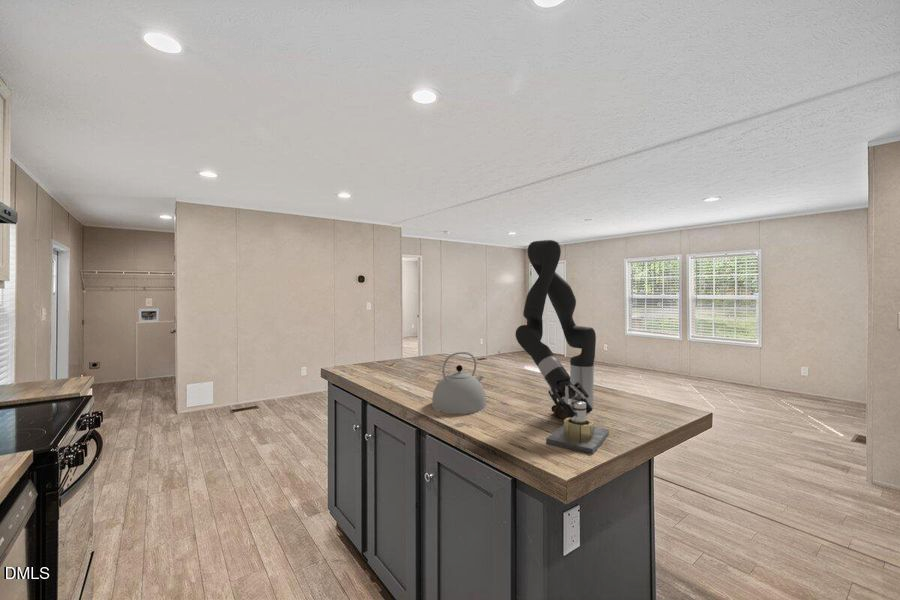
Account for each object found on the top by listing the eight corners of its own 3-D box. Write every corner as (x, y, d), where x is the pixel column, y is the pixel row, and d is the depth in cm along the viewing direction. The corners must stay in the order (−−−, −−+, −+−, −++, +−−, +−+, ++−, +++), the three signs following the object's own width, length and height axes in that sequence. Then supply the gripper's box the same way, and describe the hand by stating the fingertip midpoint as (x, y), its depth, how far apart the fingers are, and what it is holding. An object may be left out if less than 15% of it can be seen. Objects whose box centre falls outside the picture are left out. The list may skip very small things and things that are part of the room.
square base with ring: (567, 425, 136) (567, 410, 136) (608, 434, 128) (608, 417, 128) (546, 443, 120) (546, 425, 120) (592, 454, 112) (592, 435, 112)
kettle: (466, 395, 178) (466, 346, 178) (501, 406, 161) (502, 352, 160) (421, 404, 163) (421, 351, 163) (455, 418, 145) (455, 358, 145)
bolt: (556, 418, 151) (574, 429, 136) (546, 412, 151) (562, 423, 136) (563, 404, 152) (581, 415, 137) (552, 398, 151) (570, 408, 136)
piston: (573, 430, 127) (573, 400, 127) (587, 433, 125) (588, 402, 125) (568, 434, 123) (569, 403, 123) (583, 437, 121) (584, 405, 121)
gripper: (545, 367, 126) (574, 411, 117) (573, 363, 134) (602, 404, 125) (533, 381, 130) (560, 424, 121) (560, 376, 138) (588, 416, 129)
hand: (582, 413), depth 123 cm, fingers open, 8 cm apart
